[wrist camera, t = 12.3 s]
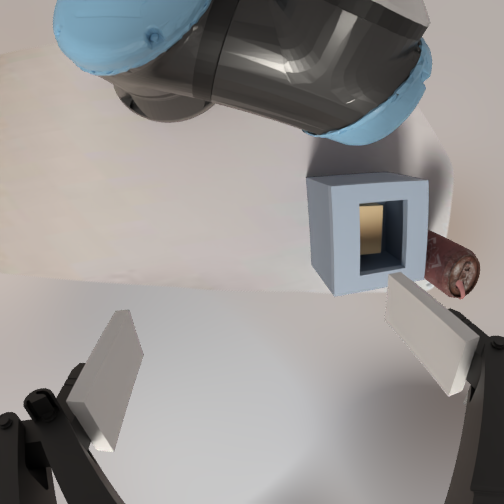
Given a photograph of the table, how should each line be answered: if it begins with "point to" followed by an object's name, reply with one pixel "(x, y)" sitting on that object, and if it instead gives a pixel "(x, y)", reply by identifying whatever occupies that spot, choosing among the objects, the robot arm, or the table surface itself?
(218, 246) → the table surface
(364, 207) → the wooden block
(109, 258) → the table surface
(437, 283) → the can
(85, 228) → the table surface
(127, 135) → the table surface
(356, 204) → the coin box
